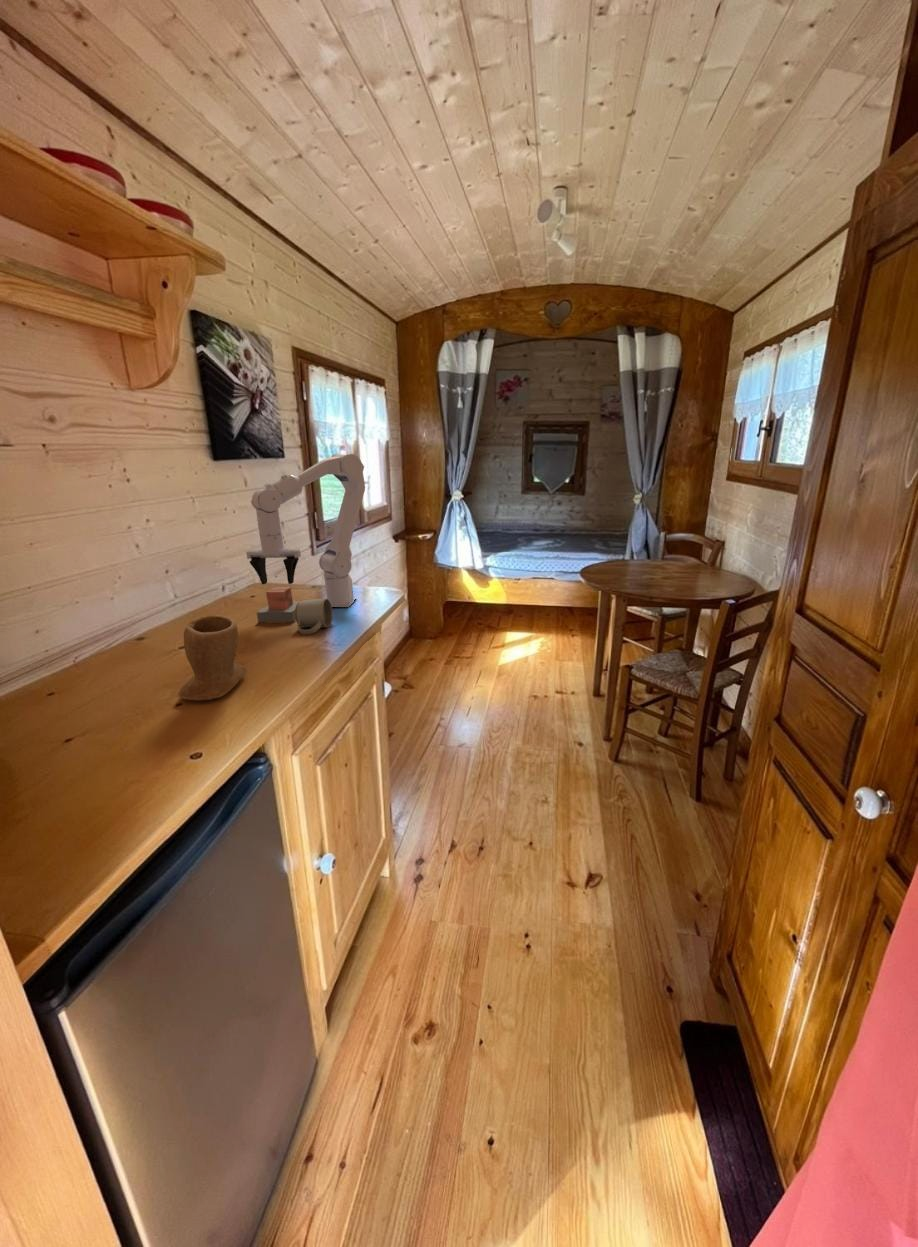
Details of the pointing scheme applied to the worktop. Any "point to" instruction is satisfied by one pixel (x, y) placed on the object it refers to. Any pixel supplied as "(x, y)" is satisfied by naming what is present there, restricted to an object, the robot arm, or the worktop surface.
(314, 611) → the ceramic mug
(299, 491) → the robot arm
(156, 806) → the worktop surface
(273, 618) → the grey block
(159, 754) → the worktop surface
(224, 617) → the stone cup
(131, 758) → the worktop surface
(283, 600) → the red cube
